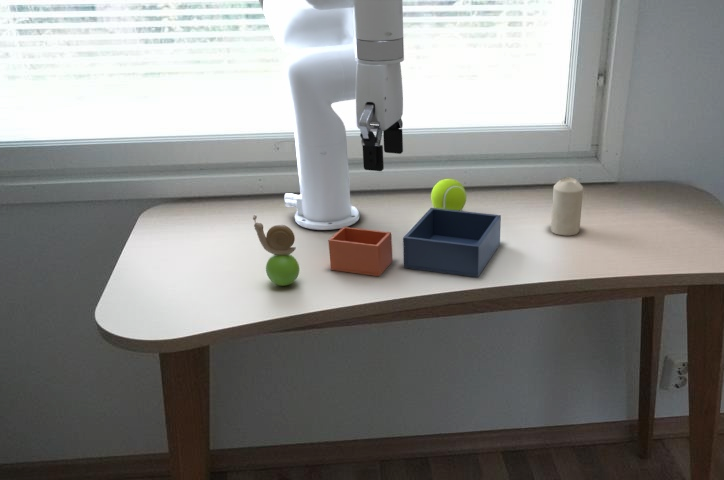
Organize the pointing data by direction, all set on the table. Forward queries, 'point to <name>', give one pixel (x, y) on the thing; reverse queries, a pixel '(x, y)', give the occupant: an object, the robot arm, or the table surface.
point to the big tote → (452, 242)
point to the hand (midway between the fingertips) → (383, 161)
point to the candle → (566, 207)
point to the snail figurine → (279, 253)
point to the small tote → (360, 251)
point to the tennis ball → (448, 195)
